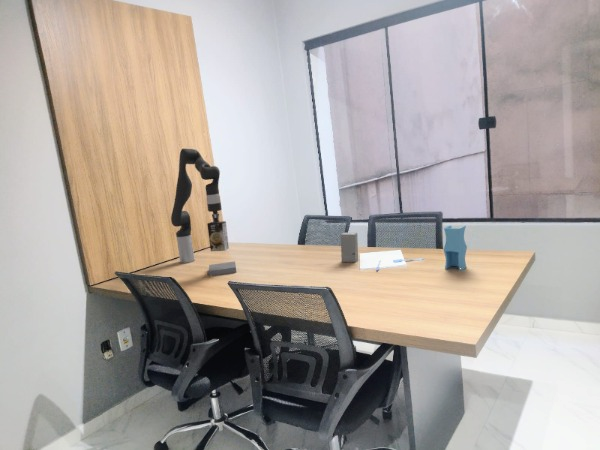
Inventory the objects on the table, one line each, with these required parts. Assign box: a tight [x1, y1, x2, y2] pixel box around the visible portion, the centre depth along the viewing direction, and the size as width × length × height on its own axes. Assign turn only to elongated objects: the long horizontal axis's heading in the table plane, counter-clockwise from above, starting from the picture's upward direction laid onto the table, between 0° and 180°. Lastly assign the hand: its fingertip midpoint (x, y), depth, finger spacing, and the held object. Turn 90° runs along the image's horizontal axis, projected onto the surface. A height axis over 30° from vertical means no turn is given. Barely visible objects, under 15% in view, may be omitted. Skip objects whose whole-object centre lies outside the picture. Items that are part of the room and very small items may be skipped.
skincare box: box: [340, 232, 359, 263], centre depth 232 cm, size 8×7×16 cm
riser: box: [208, 260, 237, 277], centre depth 238 cm, size 15×15×3 cm
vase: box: [443, 224, 468, 272], centre depth 198 cm, size 8×8×20 cm
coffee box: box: [206, 220, 230, 252], centre depth 235 cm, size 9×6×16 cm
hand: (217, 230), depth 235 cm, fingers closed on coffee box, 8 cm apart
